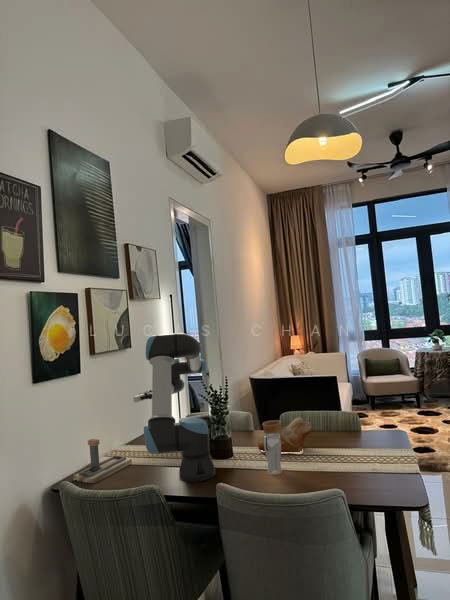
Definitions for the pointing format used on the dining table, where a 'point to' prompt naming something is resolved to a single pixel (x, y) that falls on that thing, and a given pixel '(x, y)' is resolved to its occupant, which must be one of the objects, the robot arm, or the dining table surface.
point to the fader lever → (94, 454)
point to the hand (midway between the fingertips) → (134, 399)
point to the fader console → (103, 469)
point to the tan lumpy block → (287, 434)
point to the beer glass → (273, 452)
